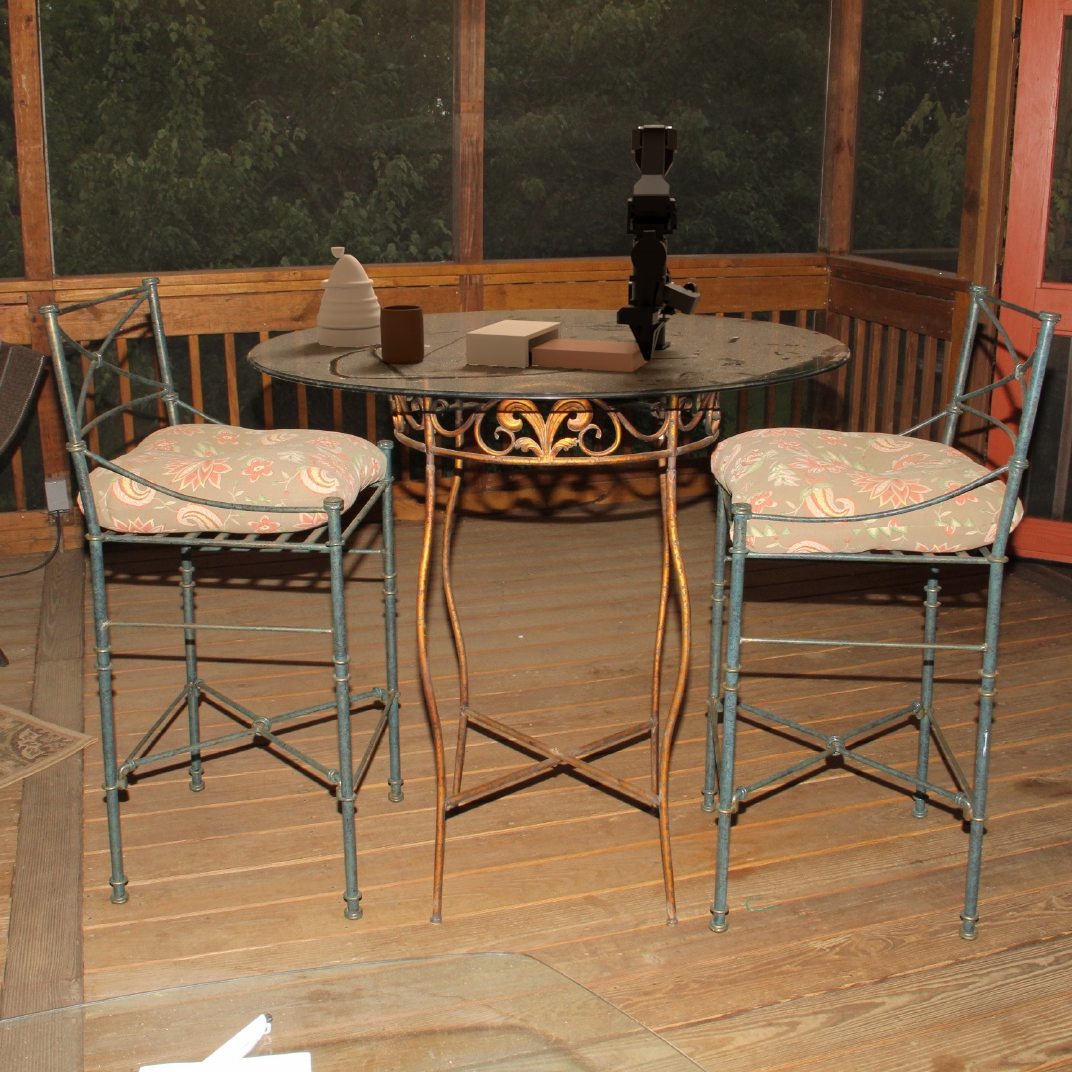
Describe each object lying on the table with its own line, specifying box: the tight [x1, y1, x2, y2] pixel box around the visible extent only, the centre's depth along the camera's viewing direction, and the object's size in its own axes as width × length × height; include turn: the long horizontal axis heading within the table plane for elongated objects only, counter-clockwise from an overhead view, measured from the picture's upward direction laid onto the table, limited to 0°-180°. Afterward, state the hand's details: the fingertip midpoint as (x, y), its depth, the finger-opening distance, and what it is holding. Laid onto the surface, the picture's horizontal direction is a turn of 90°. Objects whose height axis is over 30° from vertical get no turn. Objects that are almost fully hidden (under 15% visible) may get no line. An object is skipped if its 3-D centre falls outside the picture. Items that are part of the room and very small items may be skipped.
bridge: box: [465, 319, 562, 368], centre depth 226 cm, size 18×11×6 cm, turn 159°
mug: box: [380, 304, 425, 365], centre depth 226 cm, size 12×8×9 cm, turn 10°
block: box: [531, 338, 650, 373], centre depth 222 cm, size 12×18×4 cm, turn 70°
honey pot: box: [316, 246, 381, 348], centre depth 243 cm, size 13×13×18 cm
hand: (648, 360), depth 218 cm, fingers closed
